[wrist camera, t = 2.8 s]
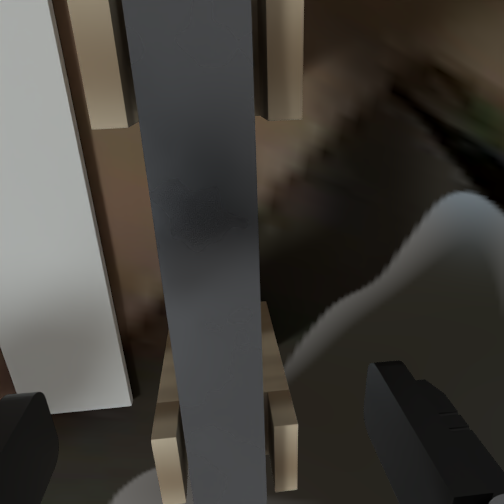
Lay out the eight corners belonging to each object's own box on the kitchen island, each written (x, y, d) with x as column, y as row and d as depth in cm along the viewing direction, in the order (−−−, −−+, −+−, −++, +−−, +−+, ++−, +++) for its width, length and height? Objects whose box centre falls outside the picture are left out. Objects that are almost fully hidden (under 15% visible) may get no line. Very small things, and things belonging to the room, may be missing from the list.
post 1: (132, 17, 19) (58, -44, 9) (258, 13, 19) (304, -48, 10) (144, 107, 20) (91, 129, 11) (261, 102, 21) (302, 119, 12)
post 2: (172, 309, 25) (150, 440, 16) (265, 301, 25) (298, 424, 16) (178, 359, 27) (163, 505, 17) (267, 351, 27) (297, 489, 18)
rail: (130, -68, 11) (105, -117, 8) (237, -69, 11) (247, -117, 9) (200, 476, 20) (198, 539, 17) (259, 469, 20) (267, 530, 17)
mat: (-133, -59, 17) (-146, -63, 16) (39, -61, 17) (33, -65, 17) (28, 409, 27) (25, 416, 26) (133, 399, 28) (131, 405, 27)
